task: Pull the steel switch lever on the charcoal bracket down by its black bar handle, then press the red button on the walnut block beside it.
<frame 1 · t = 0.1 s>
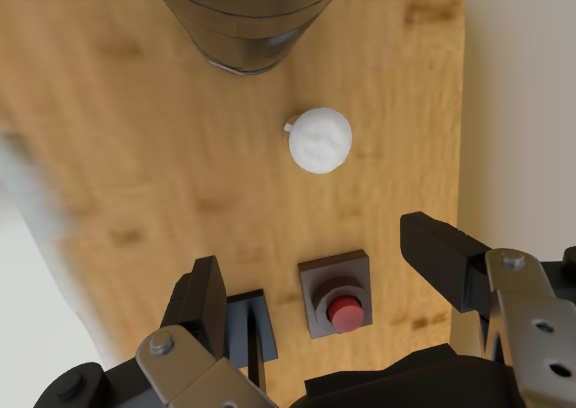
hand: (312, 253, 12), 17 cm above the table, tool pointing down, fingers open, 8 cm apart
milkshake: (294, 129, 27), on the table
start button: (345, 313, 30), point 4 cm above the table, slide at 0.1 cm
switch bracket: (238, 329, 34), on the table
button block: (334, 290, 34), on the table
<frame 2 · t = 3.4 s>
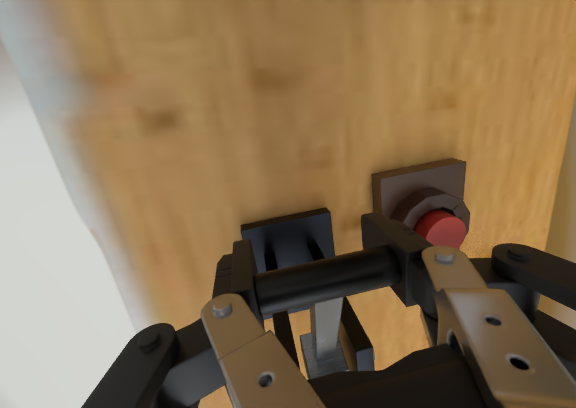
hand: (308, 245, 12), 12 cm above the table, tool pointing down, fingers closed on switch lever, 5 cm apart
switch lever: (323, 332, 14), point 13 cm above the table, hinge at 24.0°, touching gripper
start button: (439, 232, 23), point 4 cm above the table, slide at 0.1 cm
switch bracket: (292, 262, 27), on the table
button block: (412, 215, 27), on the table
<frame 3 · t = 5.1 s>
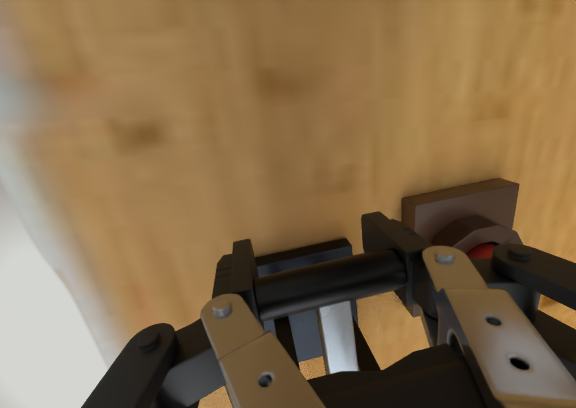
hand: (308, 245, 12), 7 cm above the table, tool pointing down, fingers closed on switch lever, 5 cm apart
switch lever: (344, 393, 11), point 11 cm above the table, hinge at -5.0°, touching gripper
start button: (487, 272, 19), point 4 cm above the table, slide at 0.1 cm
switch bracket: (303, 301, 22), on the table
button block: (447, 244, 23), on the table
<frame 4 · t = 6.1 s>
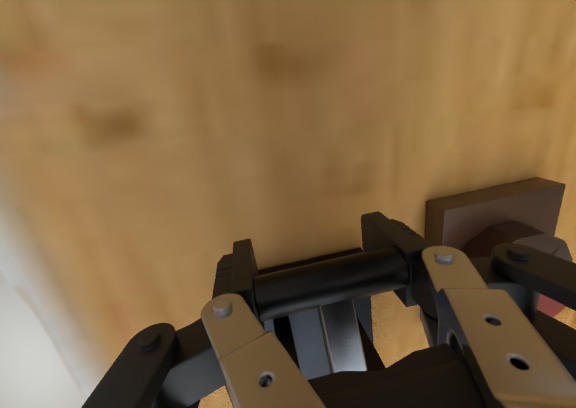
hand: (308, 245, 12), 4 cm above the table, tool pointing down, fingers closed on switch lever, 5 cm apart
start button: (530, 289, 16), point 4 cm above the table, slide at 0.1 cm
switch bracket: (310, 320, 19), on the table
button block: (476, 254, 20), on the table
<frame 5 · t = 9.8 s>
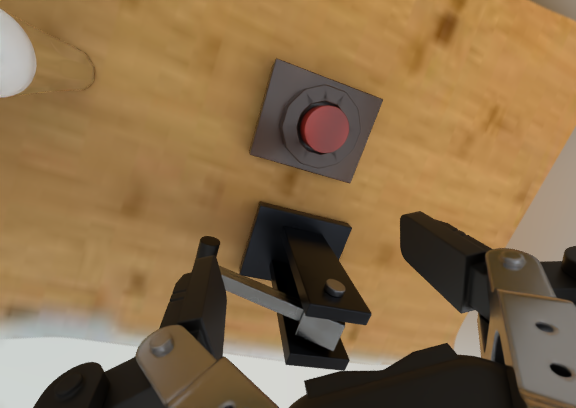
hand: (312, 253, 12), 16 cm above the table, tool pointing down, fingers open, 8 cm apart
switch lever: (264, 295, 20), point 9 cm above the table, hinge at -22.3°
milkshake: (70, 72, 22), on the table
start button: (324, 129, 22), point 4 cm above the table, slide at 0.1 cm
switch bracket: (294, 246, 30), on the table
button block: (312, 125, 26), on the table
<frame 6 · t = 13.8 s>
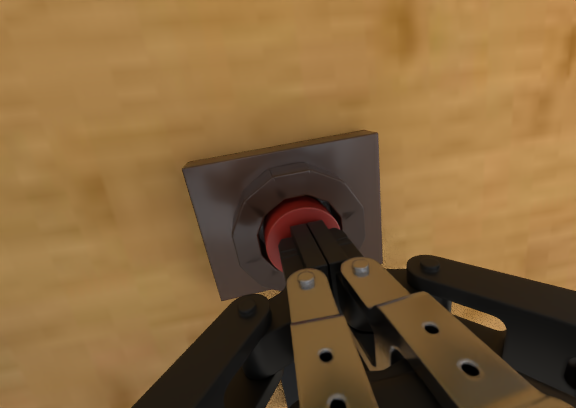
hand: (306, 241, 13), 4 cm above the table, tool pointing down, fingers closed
start button: (301, 235, 14), point 3 cm above the table, slide at -0.6 cm, touching gripper
switch bracket: (342, 352, 21), on the table
button block: (289, 211, 17), on the table
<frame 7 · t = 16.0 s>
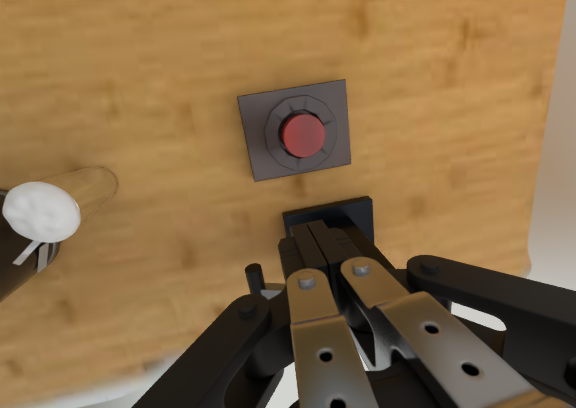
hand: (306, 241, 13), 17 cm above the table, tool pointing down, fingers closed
switch lever: (313, 293, 24), point 9 cm above the table, hinge at -22.3°
milkshake: (99, 185, 27), on the table
start button: (302, 135, 24), point 4 cm above the table, slide at 0.1 cm
switch bracket: (329, 235, 33), on the table
button block: (295, 130, 28), on the table
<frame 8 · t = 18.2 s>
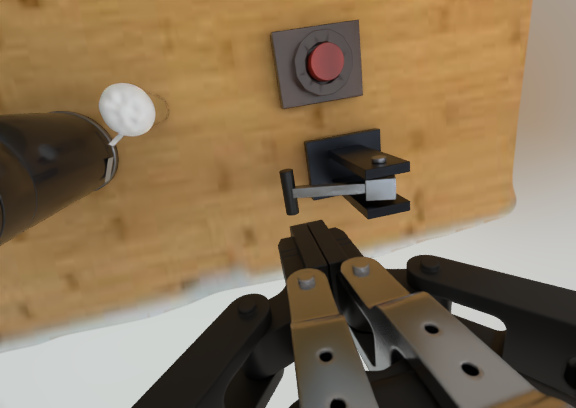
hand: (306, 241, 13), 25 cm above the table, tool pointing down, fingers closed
switch lever: (335, 189, 29), point 9 cm above the table, hinge at -22.3°
milkshake: (153, 112, 33), on the table
start button: (325, 62, 30), point 4 cm above the table, slide at 0.1 cm
switch bracket: (342, 164, 38), on the table
button block: (316, 67, 33), on the table
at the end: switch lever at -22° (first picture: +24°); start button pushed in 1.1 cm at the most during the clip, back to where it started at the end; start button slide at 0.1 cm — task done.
